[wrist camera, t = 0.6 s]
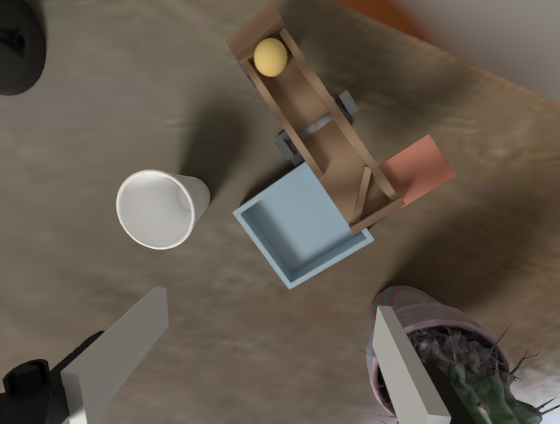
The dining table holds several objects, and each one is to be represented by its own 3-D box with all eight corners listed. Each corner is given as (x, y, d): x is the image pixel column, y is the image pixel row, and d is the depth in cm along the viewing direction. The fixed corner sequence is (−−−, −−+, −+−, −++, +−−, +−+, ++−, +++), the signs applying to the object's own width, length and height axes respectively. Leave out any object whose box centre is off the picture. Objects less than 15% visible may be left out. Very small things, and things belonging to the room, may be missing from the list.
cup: (217, 160, 41) (186, 164, 30) (227, 222, 43) (201, 246, 32) (157, 167, 42) (106, 174, 31) (169, 227, 44) (126, 252, 33)
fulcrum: (276, 137, 39) (266, 133, 29) (331, 96, 37) (341, 77, 27) (295, 165, 40) (292, 171, 30) (350, 127, 38) (367, 119, 28)
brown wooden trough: (236, 63, 31) (221, 44, 27) (322, -11, 29) (321, -44, 25) (350, 235, 31) (353, 242, 26) (449, 175, 28) (469, 173, 24)
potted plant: (491, 308, 42) (743, 525, 18) (394, 374, 47) (490, 618, 22) (417, 231, 40) (586, 355, 16) (323, 307, 45) (345, 493, 21)
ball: (253, 63, 30) (243, 46, 26) (278, 42, 29) (271, 22, 26) (270, 88, 30) (262, 75, 26) (295, 68, 29) (291, 51, 25)
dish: (238, 206, 42) (232, 212, 38) (316, 152, 39) (317, 153, 35) (290, 277, 44) (289, 289, 40) (367, 231, 41) (374, 240, 37)
